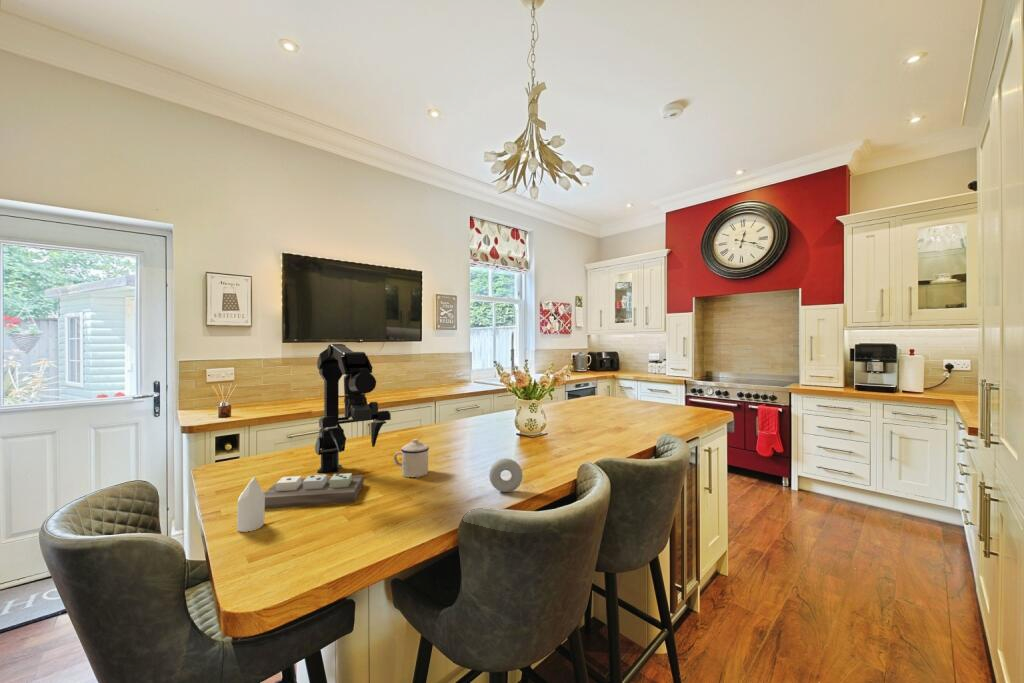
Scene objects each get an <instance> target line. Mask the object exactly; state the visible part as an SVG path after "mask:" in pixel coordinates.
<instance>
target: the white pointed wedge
mask: <svg viewBox="0 0 1024 683" xmlns="http://www.w3.org/2000/svg"><path fill="white" fill-rule="evenodd" d="M265 492H266V491H264V490H263V488H262V487H261V485H259V481H258V479H257V477H256V476H254V477H252V479H251V480H249V482H248V484H247V485H246V487H245V489H244V490H243V491H242V492H241V493H240V495H239V496H238V499H237V512H236V513H237V514H236V515H237V517H236V518H237V521H236V530H237V532H240V533H246V532H247V533H249V532H248V531H250V532H254V531H257V530H259V529H260V527H261V526H262V527H263V526H264V524H265V523H264V522H265V512H266V511H265V510H266V509H265ZM262 527H261V528H262ZM258 528H259V529H258ZM256 529H257V530H256ZM253 530H254V531H253Z"/></svg>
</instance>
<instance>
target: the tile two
mask: <svg viewBox="0 0 1024 683" xmlns="http://www.w3.org/2000/svg"><path fill="white" fill-rule="evenodd" d="M327 477H328V475H327V474H314V475H313V474H312V475H308V476H307V477H305V478H306V479H305V480H304V481H303V490H306V489H322V488H324V486H325V485H326V484H327Z"/></svg>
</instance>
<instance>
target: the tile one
mask: <svg viewBox="0 0 1024 683" xmlns="http://www.w3.org/2000/svg"><path fill="white" fill-rule="evenodd" d="M301 478H302V475H295V476H282V477H281V478H280V479H278V480H279V481H278V482H277V481H276V482H277V483H276V482H275V483H276V491H289V490H297V489H298V488H299V487H300V485H301Z"/></svg>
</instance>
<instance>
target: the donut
mask: <svg viewBox="0 0 1024 683" xmlns="http://www.w3.org/2000/svg"><path fill="white" fill-rule="evenodd" d="M504 471H509V472H510V474H511V477H510V478H509V479H507V480H506V479H503V478H502V476H501V474H502V473H503V472H504ZM523 475H524V474H523V470H522V467H521V466H520V464H519V463H517V461H515V460H513V459H511V458H500V459H499V460H496V461H495V462H494V463H493V464H492V466H491V467H490V469H489V481H490V483H491V485H492V487H493V488H494V489H495V490H497V491H498V492H500V493H501V492H502V493H511V492H513V491H515V490H517V489H518V487H520V485H521V483H522V481H523Z"/></svg>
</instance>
